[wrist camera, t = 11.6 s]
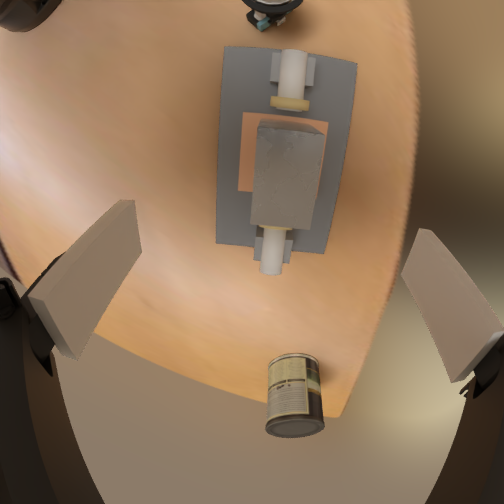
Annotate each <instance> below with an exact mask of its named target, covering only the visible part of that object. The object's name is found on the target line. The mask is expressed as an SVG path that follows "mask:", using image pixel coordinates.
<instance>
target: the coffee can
mask: <svg viewBox="0 0 504 504" xmlns="http://www.w3.org/2000/svg"><path fill="white" fill-rule="evenodd" d="M318 367H319V365H318V361H317V360H316V359H315V358H313V357H312V356H309V355H306V354H300V353H293V354H286V355H282V356H280V357H277V358H275V359H274V360H273V361H272V362H271V363H270V364H269V366H268V371H269V374H268V400H267V424H266V429H265V430H266V432H267V433H268V434H271V435H273V436H277V437H282V438H298V437H305V436H310V435H313V434H316V433H318V432H320V431H321V430H323V429H324V427H325V426H324V421H323V409H322V398H321V388H320V378H319V368H318Z"/></svg>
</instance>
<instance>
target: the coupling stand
mask: <svg viewBox="0 0 504 504" xmlns="http://www.w3.org/2000/svg"><path fill="white" fill-rule="evenodd" d="M356 73H357V63H354V62H350V61H346V60H341V59H337V58H332V57H327V56H322V55H316V54H310V53H307V52H305V51H301V50H295V49H283V50H280V49H270V48H256V47H225V48H224V59H223V72H222V86H221V102H220V120H219V140H218V165H217V200H216V243H217V244H227V245H238V246H248V247H255V249H254V260H257V261H261V263H260V272H261V273H263V274H267V275H280V274H281V272H282V264H283V263H288V264H289V261H290V255H291V251H300V252H310V253H320V254H324V251H325V247H326V243H327V239H328V235H329V231H330V226H331V222H332V218H333V213H334V208H335V204H336V199H337V194H338V189H339V184H340V179H341V174H342V169H343V163H344V158H345V152H346V146H347V140H348V134H349V128H350V121H351V114H352V107H353V99H354V91H355V82H356ZM261 118H262V119H273V120H283V121H292V122H300V123H307V124H310V125H311V126H313V127H314V128H316V129H317V130H319V131H320V132H321V133H323V134H324V135H325V141H324V149H323V155H322V162H321V169H320V175H319V181H318V187H317V193H316V199H315V205H314V210H313V216H312V221H311V227H310V230H305V229H295V228H285V227H274V226H264V225H253V224H250V220H251V206H252V193H253V179H254V166H255V153H256V140H257V127H258V125H259V122H260V120H261Z"/></svg>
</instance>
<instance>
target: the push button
mask: <svg viewBox="0 0 504 504" xmlns="http://www.w3.org/2000/svg"><path fill="white" fill-rule="evenodd" d="M242 1H243V2H244V3H245V4H246V5H247V6H249V7H250V8H251V9H253V10H251V11H250V12H249V13H247V14H246V16H247V19H248V21H249V22H250V23H252V24H253V25H254V26H255V27H256V28H257V29H259V30H260V31H261V32H262V31H263V30H265V29H266V28H267V27H269V26H270V25H271V24H273V23H274V22H277V26H279V25H281V24H282V23H284V22H285V20H286V17H285V15H286V14H288V13H289V12H291V11H292V10H293V9H295V8H296V7H298V6H299V5H300V4H301V3H302V2H303V0H242Z"/></svg>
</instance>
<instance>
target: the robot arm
mask: <svg viewBox="0 0 504 504" xmlns="http://www.w3.org/2000/svg"><path fill="white" fill-rule="evenodd" d="M60 1H61V0H0V26H1V27H3V28H5V29H8V30H9V31H12V32H26V31H29V30H31V29H33V28H35V27H36V26H38V25H39V24H40V23H41V22H43V21H44V20H45V19H46V18H47V17H48V16H49V15H50V14H51V13H52V11H53V10H54V9H55V8H56V7H57V5H58V4H59V3H60ZM141 253H142V249H141V243H140V237H139V231H138V224H137V217H136V209H135V201H134V200H119V201H118V202H117V203H116V204H115V205H114V206H113V207H111V208H110V209H109V210H108V211H107V212H106V213H105V214H104V215H103V216H102V217H100V218H99V219H98V220H97V221H96V222H95V223H94V224H93V225H92V226H91V227H90V228H89V229H88V230H87V231H86V232H85V233H84V234H83V235H82V236H81V237H80V238H79V239H78V240H77V241H76V242H75V243H74V244H73V245H72V246H71V247H70V248H69V249H68V250H67V251H66V252H64V253H63V254H61V255H60V256H58V257H57V258H55V259H54V260H53V261H52V262H51V263H50V265H49V266H48V267H47V269H45V270H44V271H43V272H42V273H41V276H39V277H38V278H37V279H36V280H35V282H34V283H33V284H32V285H31V286H30V288H29V289H28V290H27V291H26V292H25V294H24V295H23V296H22V297H21V299H20V297H19V295H18V293H17V291H16V289H15V287H14V285H13V283H12V281H11V280H10V279H9V278H0V504H105V503H104V501H103V499H102V497H101V495H100V494H99V492H98V490H97V488H96V486H95V484H94V482H93V479H92V477H91V475H90V473H89V471H88V468H87V466H86V464H85V461H84V459H83V456H82V454H81V452H80V449H79V446H78V444H77V441H76V438H75V435H74V432H73V429H72V426H71V423H70V420H69V417H68V413H67V410H66V406H65V403H64V399H63V395H62V391H61V387H60V382H59V378H58V373H57V368H56V363H55V358H54V355H53V353H52V351H51V350H52V348H53V347H54V345H56V347H57V348H58V350H59V351H60V353H61V354H62V355H63V356H66V357H69V358H72V359H74V360H77V361H78V359H79V357H80V355H81V353H82V352H83V350H84V348H85V346H86V344H87V342H88V340H89V338H90V336H91V335H92V333H93V331H94V329H95V327H96V326H97V324H98V322H99V320H100V319H101V317H102V315H103V313H104V312H105V310H106V308H107V307H108V305H109V303H110V302H111V300H112V298H113V297H114V295H115V293H116V292H117V290H118V288H119V287H120V285H121V284H122V282H123V280H124V279H125V277H126V276H127V274H128V273H129V271H130V270H131V268H132V266H133V265H134V263H135V262H136V260H137V259H138V257H139V256H140V254H141ZM401 276H402V278H403V280H404V282H405V284H406V285H407V287H408V289H409V291H410V293H411V295H412V297H413V298H414V300H415V302H416V304H417V306H418V308H419V310H420V312H421V314H422V316H423V318H424V320H425V322H426V325H427V327H428V329H429V331H430V333H431V335H432V337H433V339H434V342H435V344H436V346H437V349H438V351H439V353H440V356H441V358H442V361H443V363H444V366H445V368H446V371H447V373H448V376H449V378H450V381H451V383H453V382H458V381H461V380H464V379H465V378H466V377H467V376H468V375H469V374H470V373H471V372H472V371H474V373H475V376H474V377H473V378H472V380H471V381H469V383H468V384H467V385H465V386H464V387H463V388H462V389H461V391H460V393H459V394H462V393H463V392H464V391H465V390H468V392H467V393H466V394H465V395H464V397H466V402H465V406H464V410H463V413H462V417H461V420H460V423H459V426H458V430H457V433H456V436H455V438H454V441H453V444H452V446H451V449H450V452H449V454H448V457H447V459H446V462H445V464H444V466H443V469H442V471H441V473H440V476H439V477H438V480H437V482H436V484H435V486H434V488H433V490H432V492H431V493H430V495H429V497H428V499H427V501H426V503H425V504H504V327H503V326H502V324H501V323H500V321H499V319H498V317H497V316H496V314H495V313H494V312H493V310H492V308H491V307H490V305H489V304H488V302H487V301H486V299H485V298H484V296H483V295H482V293H481V292H480V291H479V289H478V288H477V286H476V285H475V284H474V282H473V281H472V280H471V278H470V277H469V275H468V274H467V273H466V272H465V270H464V269H463V268H462V267H461V265H460V264H459V263H458V261H457V260H456V259H455V258H454V256H453V255H452V254H451V253H450V252H449V250H448V249H447V248H446V247H445V246H444V245H443V243H442V242H441V241H440V240H439V239H438V238H437V237H436V236H435V234H434V233H433V232H432V231H431V230H426V229H421V228H419V230H418V233H417V236H416V239H415V241H414V244H413V246H412V249H411V252H410V254H409V257H408V259H407V262H406V264H405V266H404V269H403V271H402V273H401Z"/></svg>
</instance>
